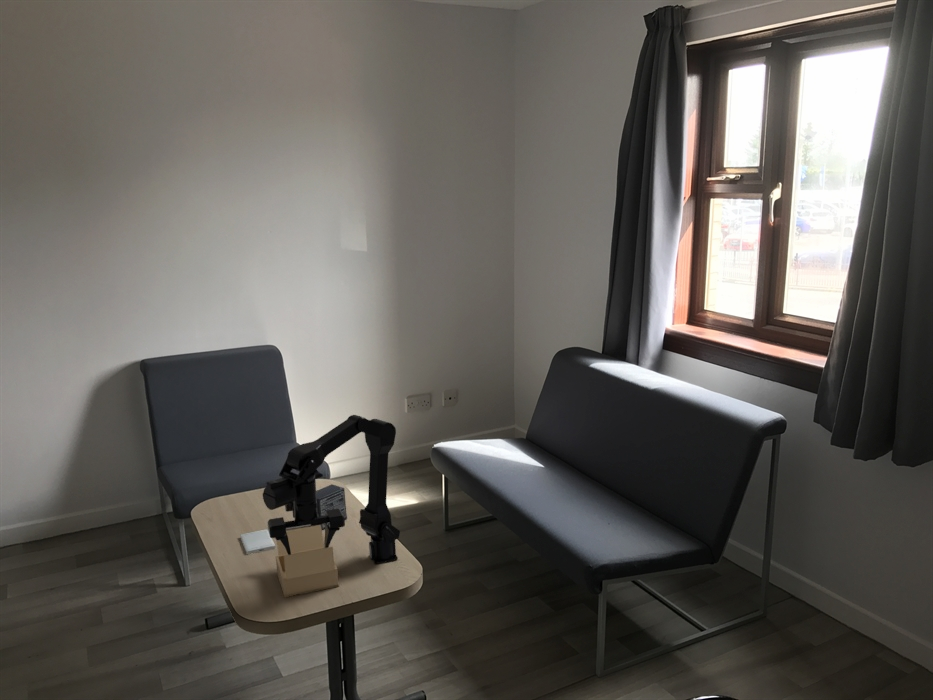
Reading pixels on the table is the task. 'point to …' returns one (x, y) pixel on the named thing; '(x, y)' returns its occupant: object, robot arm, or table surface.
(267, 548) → the hard drive
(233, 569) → the table surface
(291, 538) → the flap
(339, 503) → the small box
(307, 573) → the flap
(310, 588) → the carton
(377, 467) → the robot arm
